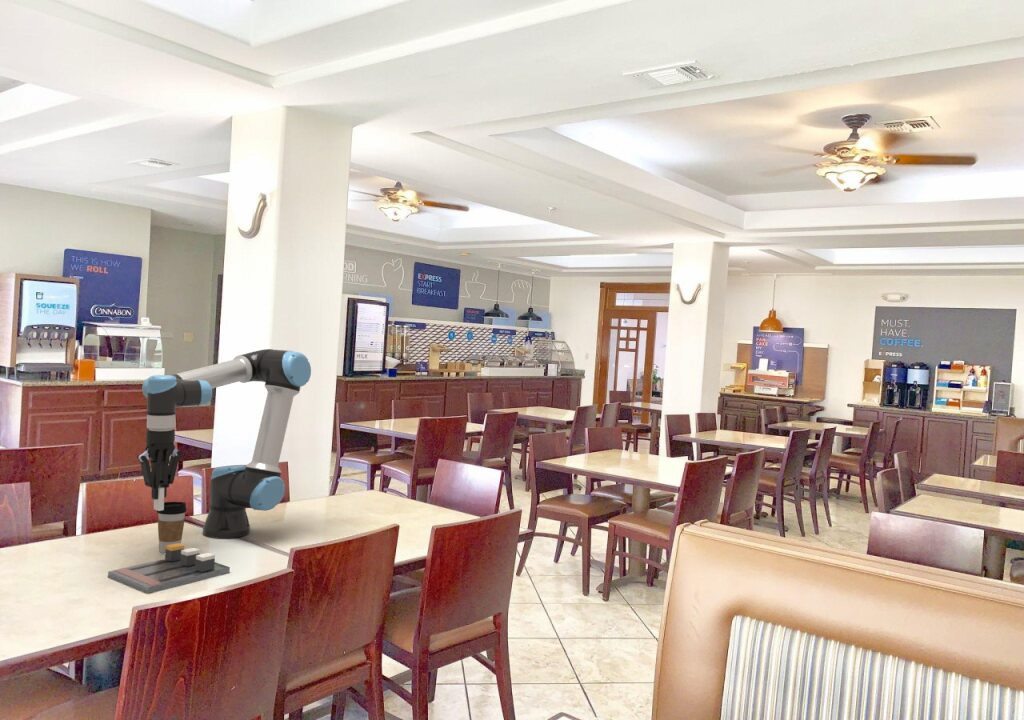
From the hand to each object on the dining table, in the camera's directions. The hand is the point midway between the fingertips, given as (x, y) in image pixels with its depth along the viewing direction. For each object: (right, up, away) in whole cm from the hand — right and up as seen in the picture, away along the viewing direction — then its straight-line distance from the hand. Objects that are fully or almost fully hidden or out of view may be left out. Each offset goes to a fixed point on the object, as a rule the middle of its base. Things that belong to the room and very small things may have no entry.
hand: (158, 509), depth 221 cm
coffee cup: (-4, -16, +16) cm, 23 cm away
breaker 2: (+15, -16, -5) cm, 23 cm away
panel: (+6, -17, -6) cm, 19 cm away
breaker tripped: (+4, -15, +2) cm, 15 cm away
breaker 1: (+10, -15, -1) cm, 18 cm away
